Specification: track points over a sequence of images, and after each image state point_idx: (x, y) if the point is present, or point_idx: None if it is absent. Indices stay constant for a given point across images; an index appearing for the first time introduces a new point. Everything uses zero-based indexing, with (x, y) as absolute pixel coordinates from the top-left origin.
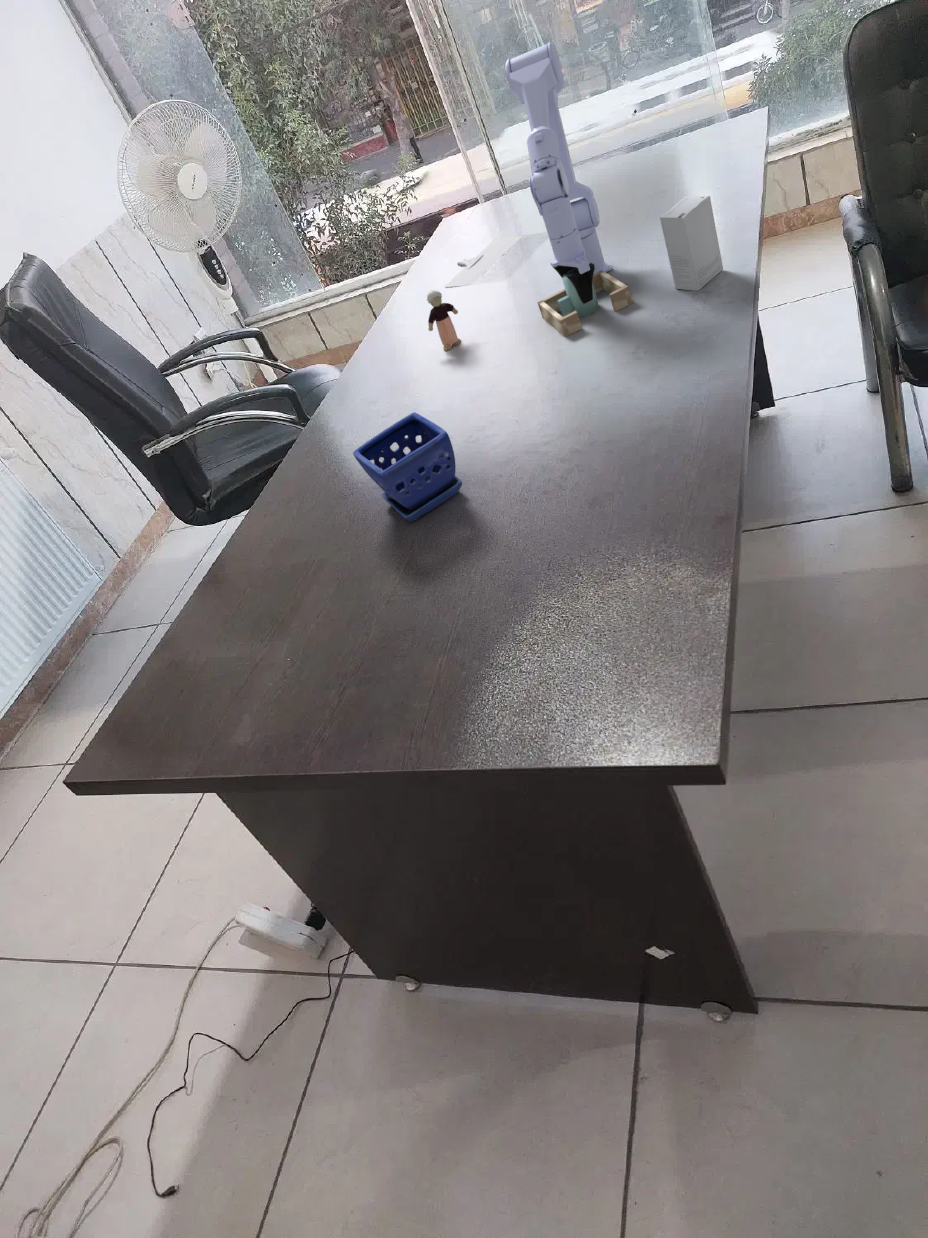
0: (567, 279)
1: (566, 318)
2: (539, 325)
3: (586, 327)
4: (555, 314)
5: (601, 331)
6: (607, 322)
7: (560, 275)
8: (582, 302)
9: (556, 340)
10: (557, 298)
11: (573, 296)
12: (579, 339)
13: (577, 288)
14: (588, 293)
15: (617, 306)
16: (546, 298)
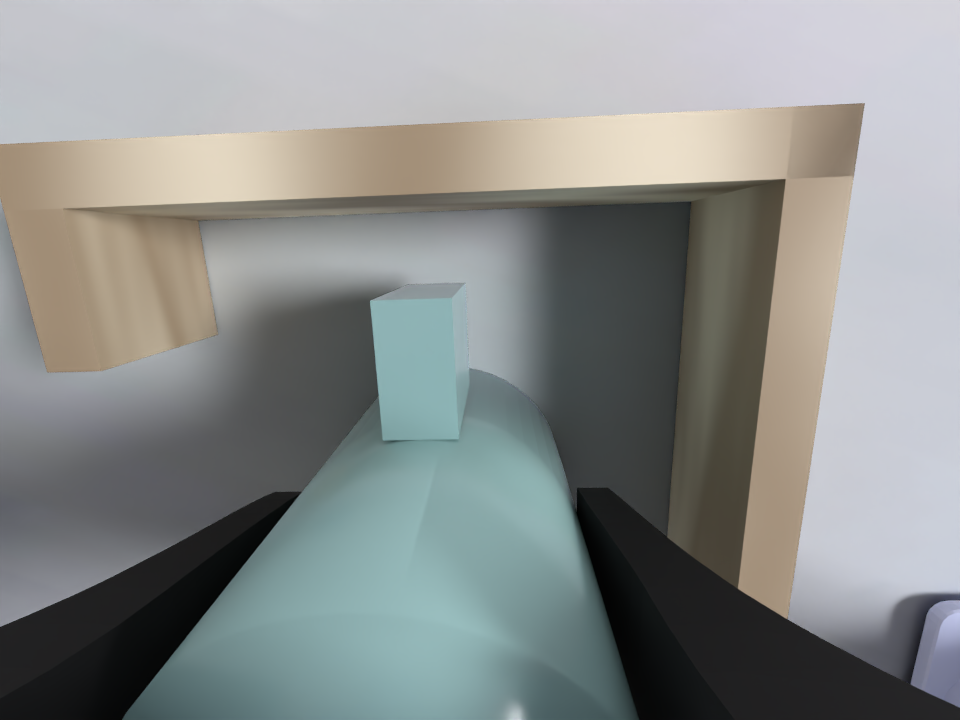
0: (263, 676)
1: (17, 232)
2: (610, 67)
3: (166, 364)
4: (220, 163)
5: (7, 415)
6: (113, 493)
7: (778, 648)
8: (287, 493)
9: (147, 90)
10: (736, 358)
11: (314, 479)
12: (5, 250)
13: (43, 613)
14: None
15: None
16: (820, 243)
